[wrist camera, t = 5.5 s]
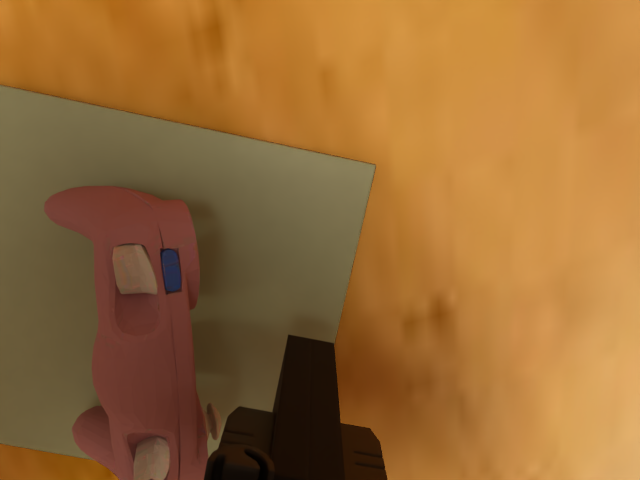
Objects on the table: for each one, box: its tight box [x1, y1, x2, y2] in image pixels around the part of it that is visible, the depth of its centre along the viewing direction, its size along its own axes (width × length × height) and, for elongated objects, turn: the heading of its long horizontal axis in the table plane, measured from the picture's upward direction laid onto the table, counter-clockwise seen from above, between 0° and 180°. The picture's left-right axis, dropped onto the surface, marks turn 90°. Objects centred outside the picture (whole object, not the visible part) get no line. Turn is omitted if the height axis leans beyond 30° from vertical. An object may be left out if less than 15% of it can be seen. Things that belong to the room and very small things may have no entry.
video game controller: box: [44, 186, 221, 480], centre depth 16 cm, size 10×5×7 cm, turn 0°
